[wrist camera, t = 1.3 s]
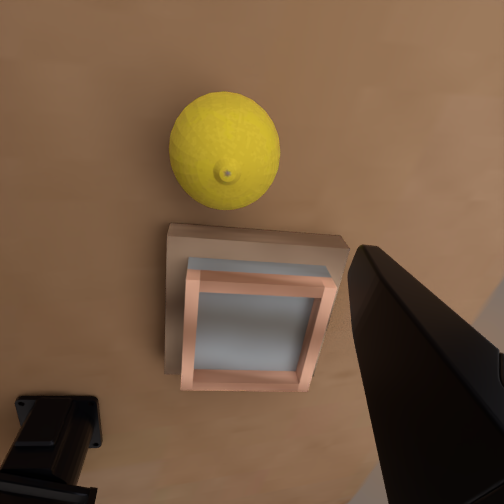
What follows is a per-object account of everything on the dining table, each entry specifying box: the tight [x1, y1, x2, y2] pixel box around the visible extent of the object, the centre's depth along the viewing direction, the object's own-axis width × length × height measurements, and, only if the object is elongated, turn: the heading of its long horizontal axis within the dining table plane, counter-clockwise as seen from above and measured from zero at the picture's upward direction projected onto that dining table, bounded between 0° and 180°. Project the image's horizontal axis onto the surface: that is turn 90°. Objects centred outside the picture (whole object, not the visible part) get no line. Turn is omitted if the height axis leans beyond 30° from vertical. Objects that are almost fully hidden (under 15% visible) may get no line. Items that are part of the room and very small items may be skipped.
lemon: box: [169, 91, 280, 210], centre depth 18 cm, size 6×6×8 cm
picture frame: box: [164, 223, 350, 392], centre depth 26 cm, size 12×12×5 cm
